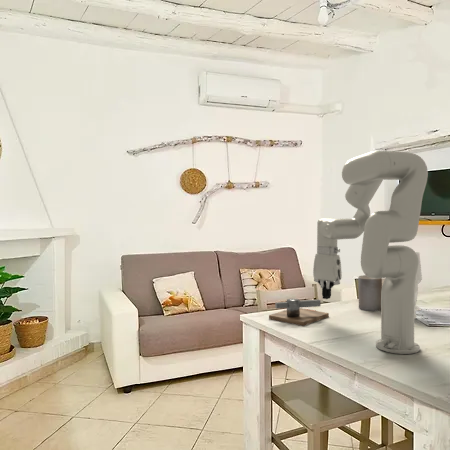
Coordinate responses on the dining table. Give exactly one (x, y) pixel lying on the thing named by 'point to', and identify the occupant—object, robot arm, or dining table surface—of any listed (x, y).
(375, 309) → the pillar candle
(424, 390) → the dining table surface
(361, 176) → the robot arm
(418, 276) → the champagne flute
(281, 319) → the dial stand
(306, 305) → the capstan
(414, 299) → the beer glass
